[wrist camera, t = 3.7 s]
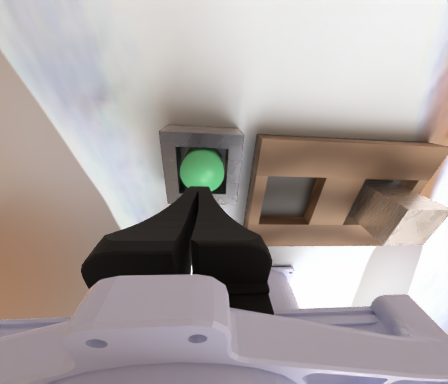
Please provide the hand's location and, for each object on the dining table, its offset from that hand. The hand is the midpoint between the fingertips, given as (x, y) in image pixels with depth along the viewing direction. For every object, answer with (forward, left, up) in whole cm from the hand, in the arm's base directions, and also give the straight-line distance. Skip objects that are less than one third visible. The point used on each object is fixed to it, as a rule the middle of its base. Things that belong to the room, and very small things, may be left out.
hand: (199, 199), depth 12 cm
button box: (0, 0, -8) cm, 8 cm away
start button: (0, 0, -7) cm, 7 cm away
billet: (-4, -21, -8) cm, 23 cm away
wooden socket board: (-4, -15, -8) cm, 18 cm away
